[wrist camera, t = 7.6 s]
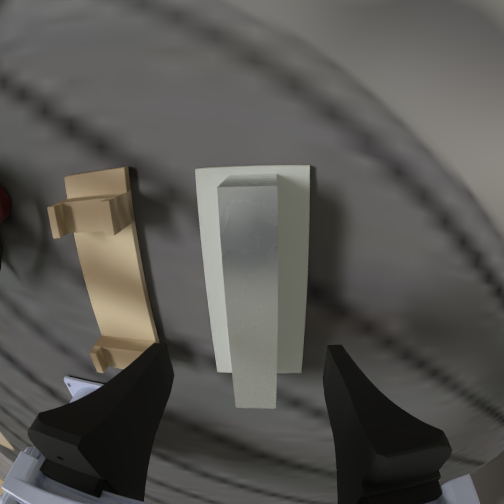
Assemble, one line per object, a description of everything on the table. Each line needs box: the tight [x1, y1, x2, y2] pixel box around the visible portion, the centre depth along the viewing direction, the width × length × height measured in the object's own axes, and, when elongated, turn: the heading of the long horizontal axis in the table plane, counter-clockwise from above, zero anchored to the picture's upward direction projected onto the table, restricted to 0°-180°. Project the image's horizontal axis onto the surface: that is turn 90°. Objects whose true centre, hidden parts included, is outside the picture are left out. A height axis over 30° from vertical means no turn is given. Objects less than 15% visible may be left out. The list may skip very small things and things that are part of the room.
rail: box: [217, 174, 278, 408], centre depth 17 cm, size 14×3×4 cm, turn 2°
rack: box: [47, 167, 159, 373], centre depth 19 cm, size 16×5×3 cm, turn 2°
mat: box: [195, 165, 310, 373], centre depth 20 cm, size 15×6×1 cm, turn 2°
